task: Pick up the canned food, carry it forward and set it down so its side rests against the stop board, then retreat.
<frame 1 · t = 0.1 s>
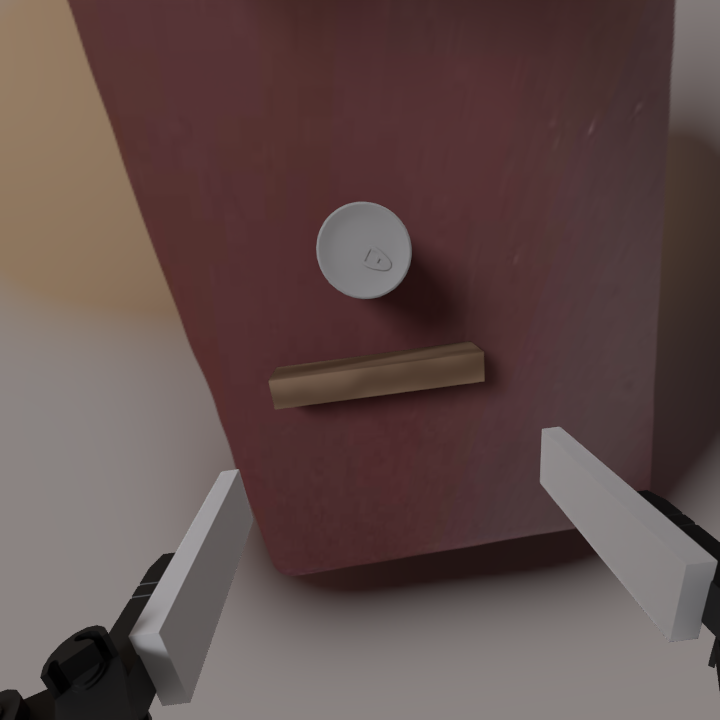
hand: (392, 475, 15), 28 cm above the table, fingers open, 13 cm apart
canned food: (359, 250, 39), on the table
board: (374, 367, 43), on the table
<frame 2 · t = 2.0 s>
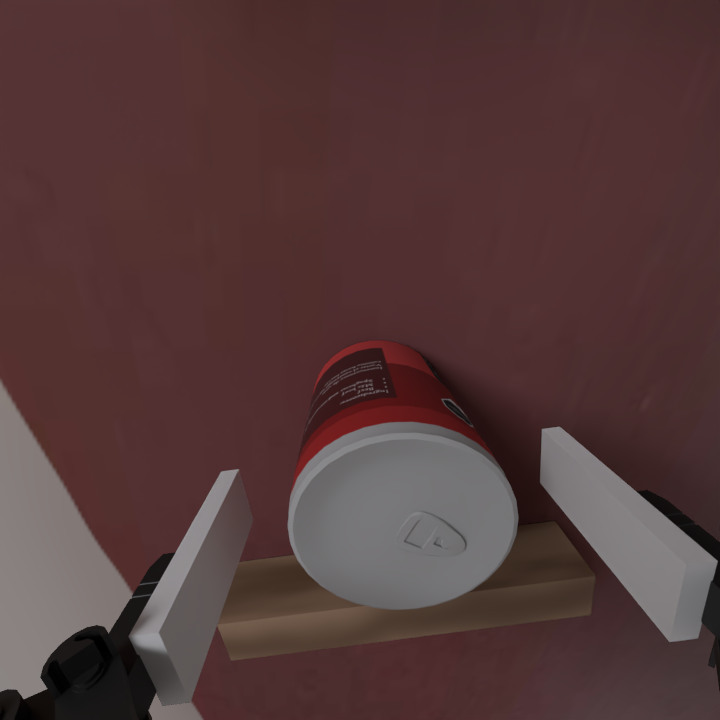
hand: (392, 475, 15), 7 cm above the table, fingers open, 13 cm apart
canned food: (377, 393, 22), on the table
board: (398, 558, 27), on the table
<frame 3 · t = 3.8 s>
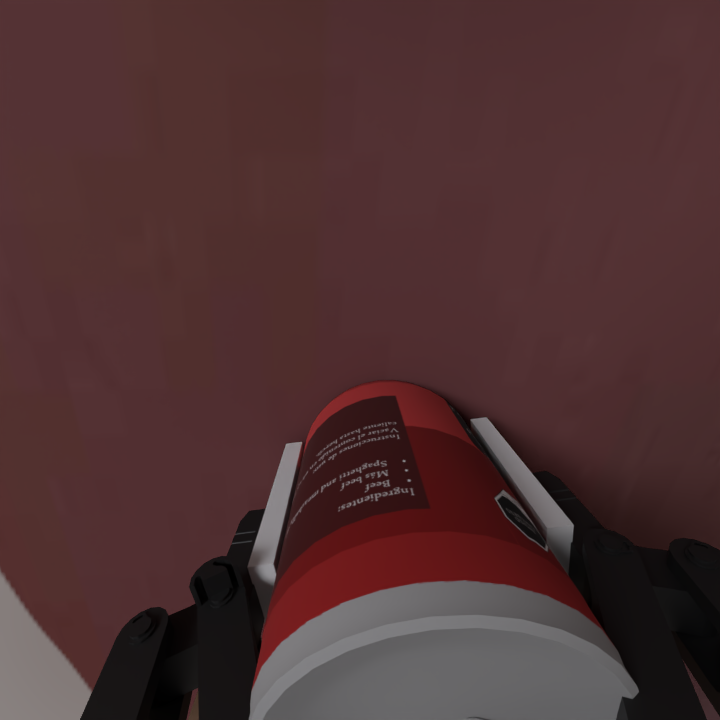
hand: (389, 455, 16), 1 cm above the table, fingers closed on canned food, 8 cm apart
canned food: (386, 444, 17), on the table, touching gripper
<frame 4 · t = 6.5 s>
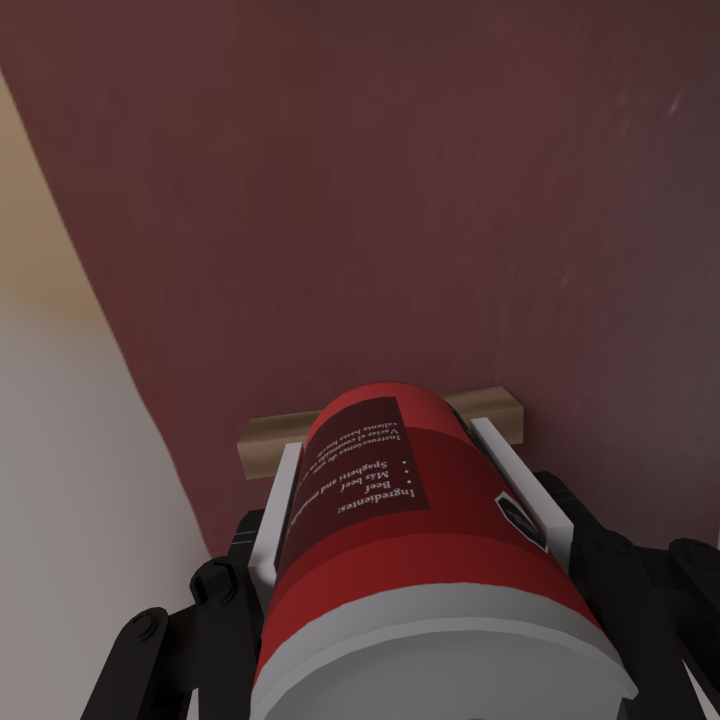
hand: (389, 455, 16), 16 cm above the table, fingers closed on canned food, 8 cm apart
canned food: (387, 445, 17), point 15 cm above the table, touching gripper
board: (377, 418, 33), on the table
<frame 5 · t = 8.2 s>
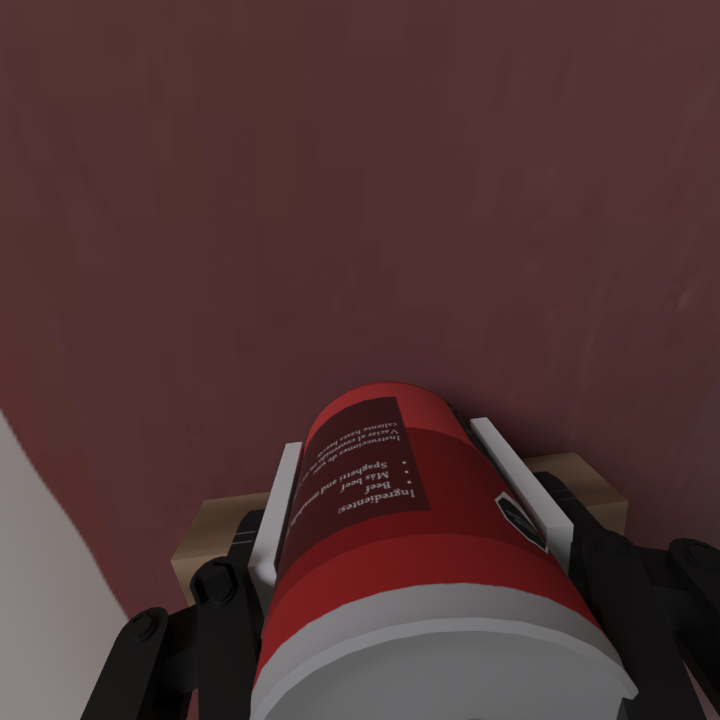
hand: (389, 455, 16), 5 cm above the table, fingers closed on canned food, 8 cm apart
canned food: (387, 445, 17), point 4 cm above the table, touching gripper
board: (391, 498, 23), on the table
when the fingers open (2 cm above the table, at t = 9.7 s): canned food stays where it is, on the table.
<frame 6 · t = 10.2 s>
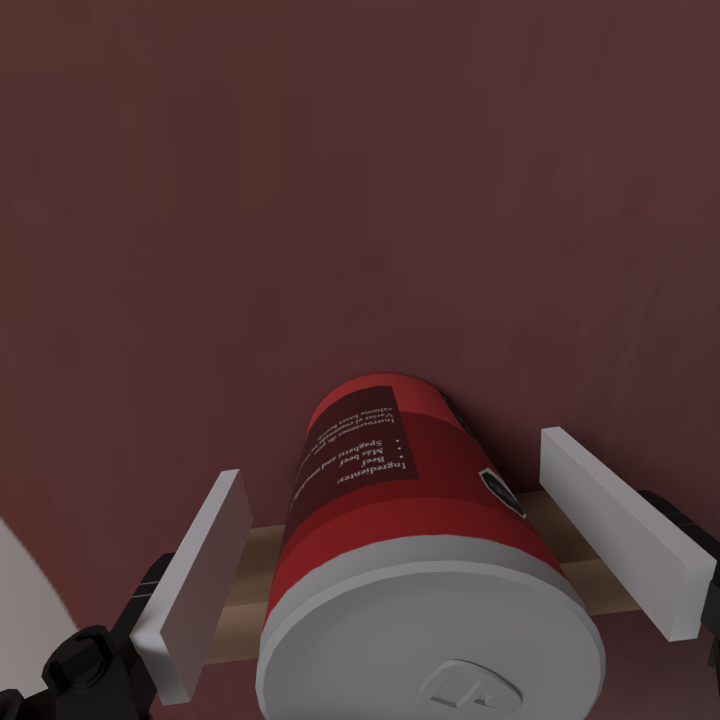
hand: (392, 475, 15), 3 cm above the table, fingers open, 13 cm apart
canned food: (384, 433, 18), on the table
board: (397, 534, 20), on the table
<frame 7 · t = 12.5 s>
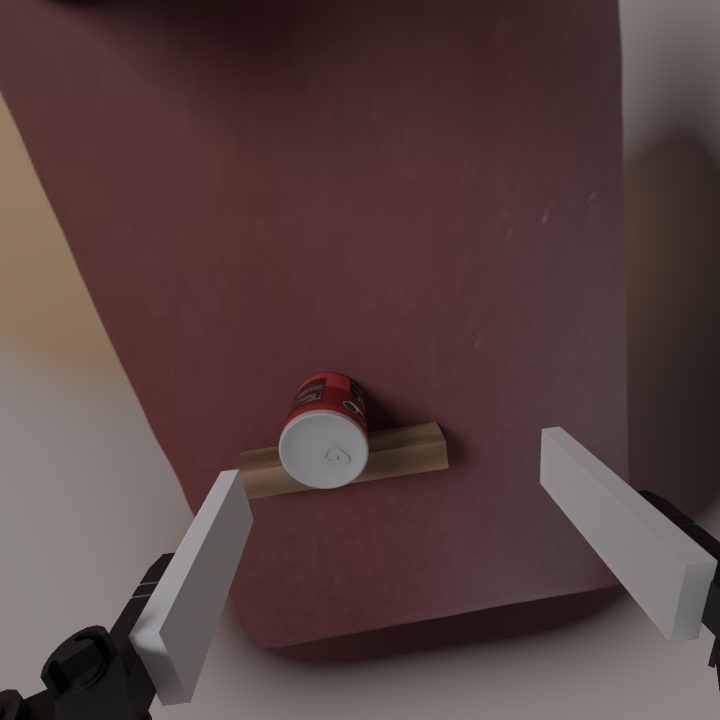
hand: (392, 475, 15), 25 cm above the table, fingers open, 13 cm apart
canned food: (330, 400, 41), on the table
board: (340, 449, 42), on the table
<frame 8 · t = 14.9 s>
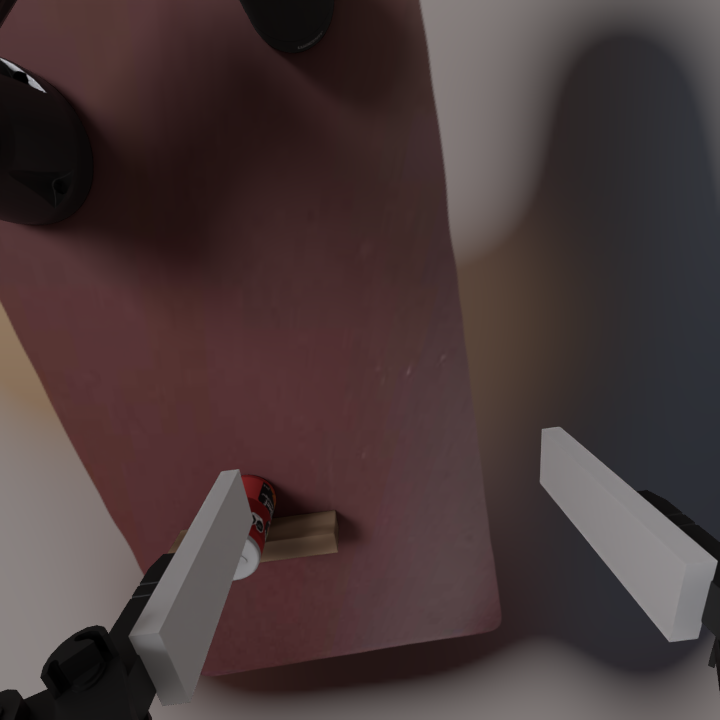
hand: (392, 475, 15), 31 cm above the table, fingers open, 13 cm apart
canned food: (251, 493, 52), on the table
pen holder: (290, 2, 34), on the table
board: (260, 529, 54), on the table
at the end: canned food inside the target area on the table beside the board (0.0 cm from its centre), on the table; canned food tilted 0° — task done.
